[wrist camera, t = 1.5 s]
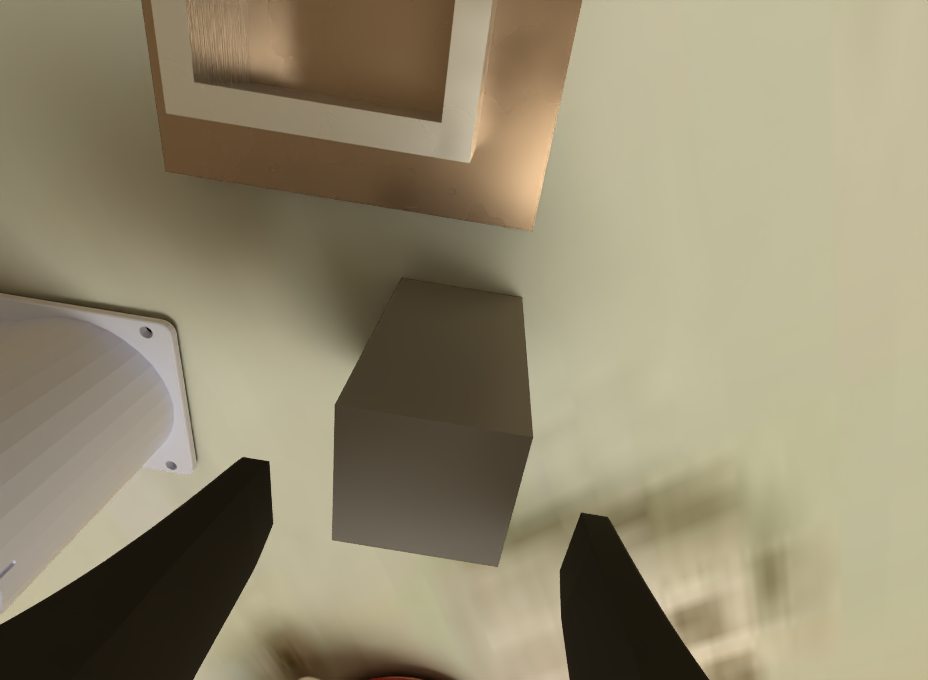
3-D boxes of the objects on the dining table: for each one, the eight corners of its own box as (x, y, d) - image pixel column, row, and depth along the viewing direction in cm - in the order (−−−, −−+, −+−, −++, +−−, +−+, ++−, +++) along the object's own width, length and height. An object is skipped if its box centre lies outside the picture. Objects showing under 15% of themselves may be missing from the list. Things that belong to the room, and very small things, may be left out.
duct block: (393, 379, 20) (332, 540, 13) (401, 277, 18) (334, 404, 11) (500, 396, 20) (497, 566, 13) (522, 297, 18) (533, 437, 11)
